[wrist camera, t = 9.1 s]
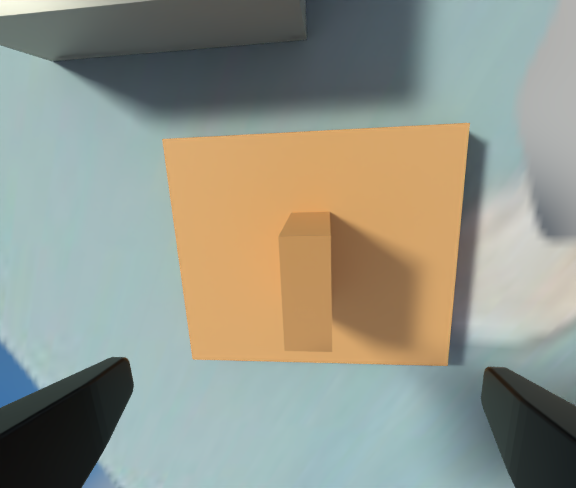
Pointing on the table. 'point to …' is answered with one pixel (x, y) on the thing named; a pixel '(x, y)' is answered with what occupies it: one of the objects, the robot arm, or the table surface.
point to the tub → (144, 25)
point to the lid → (320, 243)
